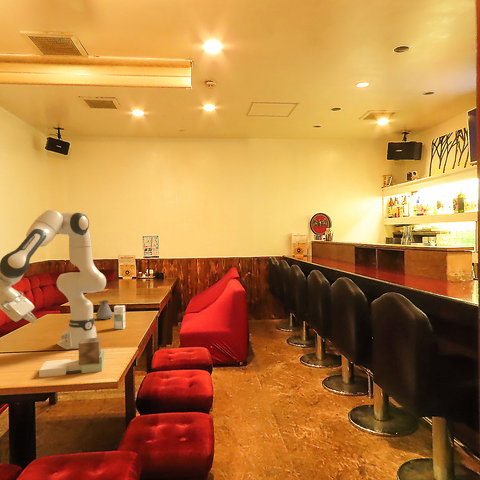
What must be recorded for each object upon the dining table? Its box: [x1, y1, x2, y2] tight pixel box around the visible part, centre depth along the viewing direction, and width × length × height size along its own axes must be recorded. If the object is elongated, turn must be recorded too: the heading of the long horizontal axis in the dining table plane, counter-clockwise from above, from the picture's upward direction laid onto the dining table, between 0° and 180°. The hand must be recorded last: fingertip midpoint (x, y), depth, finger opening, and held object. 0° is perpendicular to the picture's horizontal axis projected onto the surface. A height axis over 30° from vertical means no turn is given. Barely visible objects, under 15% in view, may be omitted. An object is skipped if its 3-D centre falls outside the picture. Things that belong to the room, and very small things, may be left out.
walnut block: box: [78, 337, 102, 365], centre depth 161 cm, size 8×8×9 cm
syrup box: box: [113, 304, 126, 330], centre depth 235 cm, size 6×6×14 cm
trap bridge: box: [38, 349, 105, 378], centre depth 159 cm, size 24×12×6 cm, turn 106°
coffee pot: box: [95, 299, 114, 320], centre depth 261 cm, size 21×12×15 cm, turn 18°
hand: (35, 321), depth 156 cm, fingers closed
